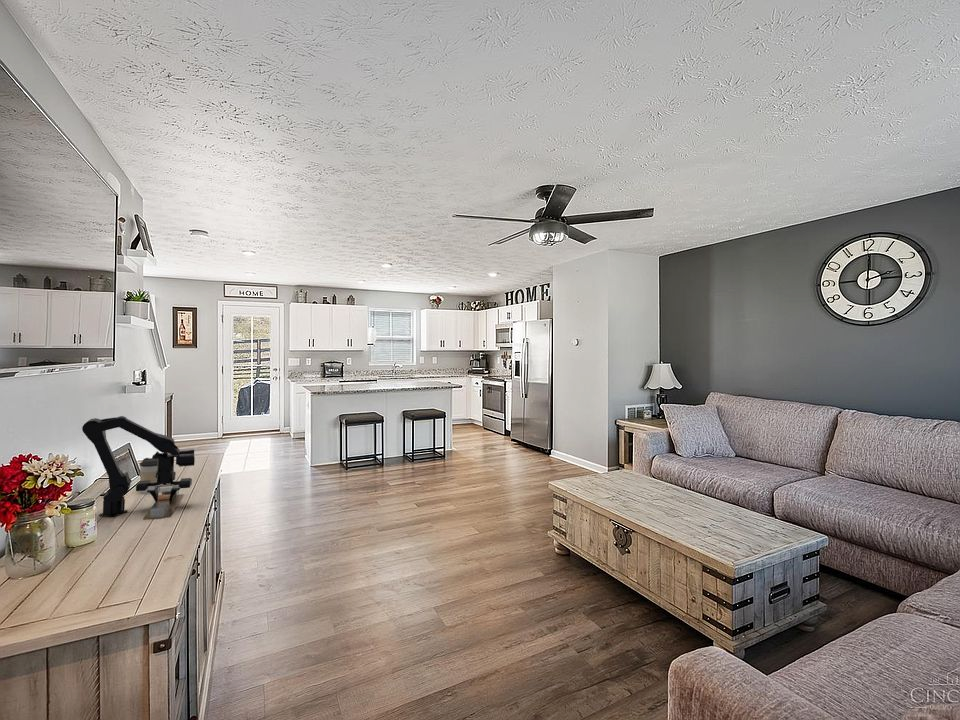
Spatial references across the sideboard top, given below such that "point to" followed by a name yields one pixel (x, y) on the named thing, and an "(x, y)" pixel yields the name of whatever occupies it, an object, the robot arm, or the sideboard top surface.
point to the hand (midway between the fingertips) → (164, 504)
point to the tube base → (164, 506)
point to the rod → (164, 498)
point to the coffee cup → (148, 471)
